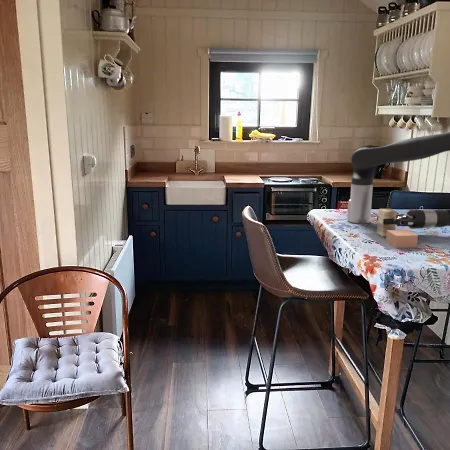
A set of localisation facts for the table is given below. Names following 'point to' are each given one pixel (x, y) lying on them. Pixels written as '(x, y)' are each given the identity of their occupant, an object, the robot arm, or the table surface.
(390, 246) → the build mat
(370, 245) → the table surface
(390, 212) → the pillar
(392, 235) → the base block
